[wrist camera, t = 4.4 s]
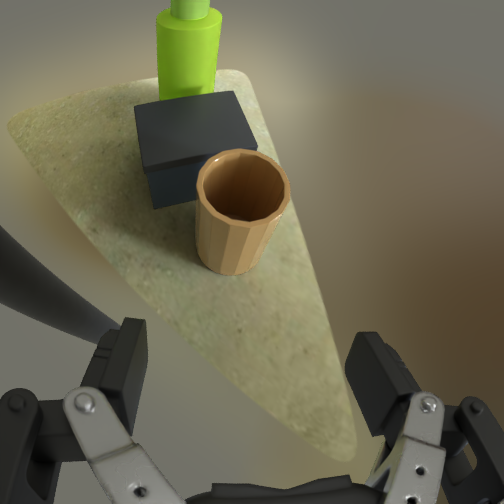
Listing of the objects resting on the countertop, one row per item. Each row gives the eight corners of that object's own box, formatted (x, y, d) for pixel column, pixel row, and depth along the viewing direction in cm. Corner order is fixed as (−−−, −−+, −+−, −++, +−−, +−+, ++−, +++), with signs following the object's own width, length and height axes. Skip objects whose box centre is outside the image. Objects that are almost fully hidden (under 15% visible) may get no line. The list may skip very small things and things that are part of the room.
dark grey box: (152, 211, 29) (142, 166, 23) (141, 154, 31) (133, 105, 25) (245, 191, 31) (258, 145, 25) (225, 138, 34) (233, 90, 27)
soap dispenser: (162, 141, 32) (156, -37, 14) (159, 100, 35) (158, -54, 16) (216, 135, 34) (241, -39, 15) (207, 95, 36) (226, -56, 18)
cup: (206, 283, 27) (210, 236, 19) (189, 222, 29) (188, 156, 20) (271, 266, 29) (303, 215, 20) (250, 208, 31) (271, 143, 22)
